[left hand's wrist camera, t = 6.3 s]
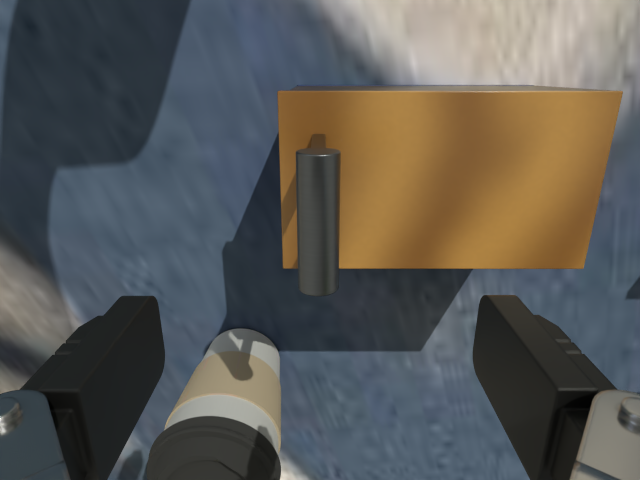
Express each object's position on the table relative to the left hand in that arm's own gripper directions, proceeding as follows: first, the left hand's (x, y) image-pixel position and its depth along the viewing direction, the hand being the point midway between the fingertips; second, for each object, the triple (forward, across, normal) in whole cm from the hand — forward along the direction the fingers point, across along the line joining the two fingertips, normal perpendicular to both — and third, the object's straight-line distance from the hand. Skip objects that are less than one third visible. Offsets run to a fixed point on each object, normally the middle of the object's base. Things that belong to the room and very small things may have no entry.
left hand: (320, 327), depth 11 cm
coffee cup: (+26, -7, -20) cm, 34 cm away
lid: (+16, +7, 0) cm, 17 cm away
